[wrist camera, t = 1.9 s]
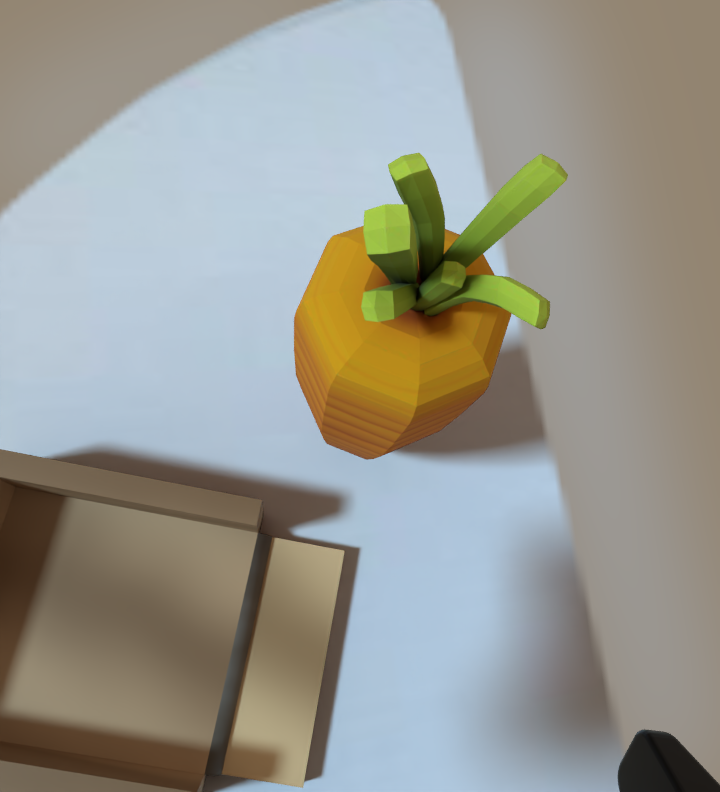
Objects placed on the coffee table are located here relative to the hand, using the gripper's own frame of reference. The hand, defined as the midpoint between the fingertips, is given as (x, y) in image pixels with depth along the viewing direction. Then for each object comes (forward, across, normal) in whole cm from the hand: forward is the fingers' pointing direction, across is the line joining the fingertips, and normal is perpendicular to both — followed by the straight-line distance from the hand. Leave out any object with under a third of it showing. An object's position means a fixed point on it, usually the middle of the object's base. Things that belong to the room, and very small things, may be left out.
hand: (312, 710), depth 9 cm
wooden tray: (+10, +5, +10) cm, 14 cm away
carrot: (+15, -1, +4) cm, 16 cm away
